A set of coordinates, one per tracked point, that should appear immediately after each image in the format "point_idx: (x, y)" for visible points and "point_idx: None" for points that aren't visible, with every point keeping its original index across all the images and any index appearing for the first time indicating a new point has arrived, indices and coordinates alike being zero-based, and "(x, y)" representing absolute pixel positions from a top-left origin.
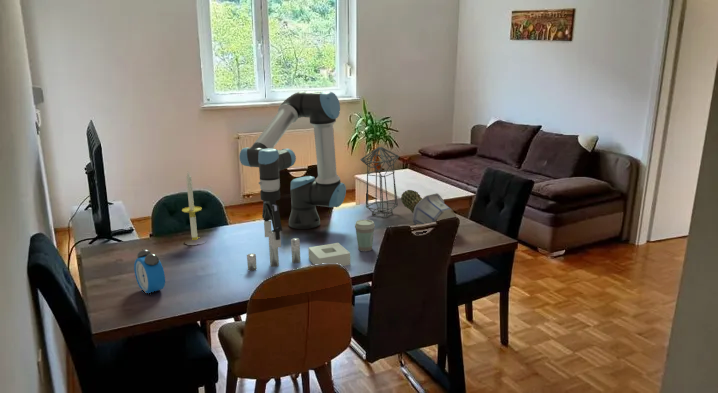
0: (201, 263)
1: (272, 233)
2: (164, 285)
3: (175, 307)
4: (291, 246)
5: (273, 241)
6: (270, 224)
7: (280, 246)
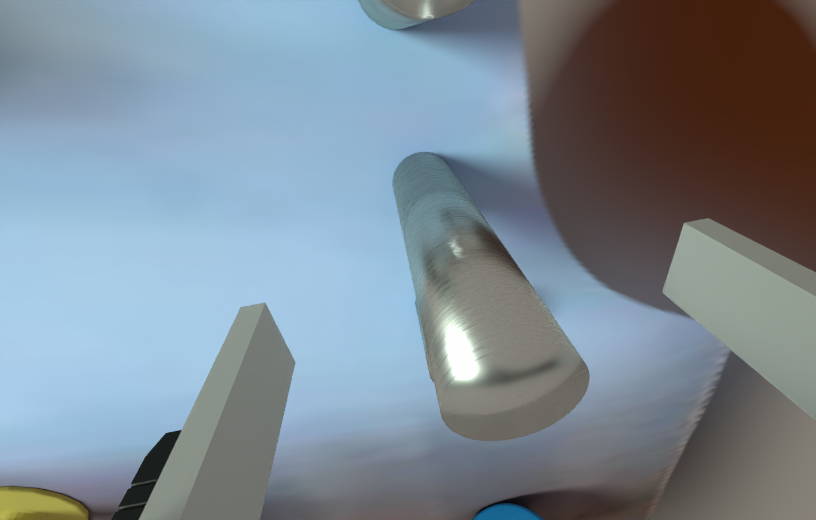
0: (308, 462)
1: (573, 397)
2: (539, 517)
3: (634, 460)
4: (425, 21)
5: (723, 342)
6: (202, 495)
7: (710, 228)
